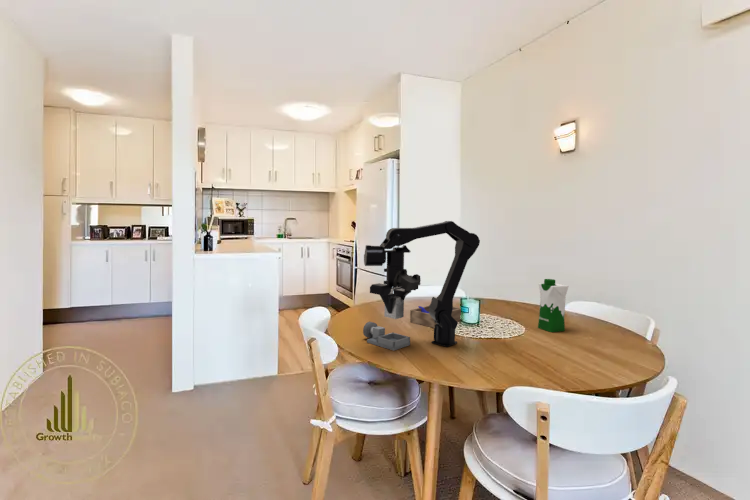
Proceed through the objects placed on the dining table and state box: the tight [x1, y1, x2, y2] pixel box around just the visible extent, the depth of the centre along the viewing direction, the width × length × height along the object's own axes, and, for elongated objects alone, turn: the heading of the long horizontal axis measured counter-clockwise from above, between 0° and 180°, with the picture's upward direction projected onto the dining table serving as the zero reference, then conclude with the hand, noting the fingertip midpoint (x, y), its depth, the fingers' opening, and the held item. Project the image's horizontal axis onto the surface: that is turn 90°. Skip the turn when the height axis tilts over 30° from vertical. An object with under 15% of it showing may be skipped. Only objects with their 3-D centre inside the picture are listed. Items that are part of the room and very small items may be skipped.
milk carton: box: [537, 278, 569, 333], centre depth 159 cm, size 9×9×20 cm
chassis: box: [366, 325, 411, 351], centre depth 137 cm, size 14×8×5 cm, turn 47°
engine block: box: [384, 296, 405, 320], centre depth 134 cm, size 5×4×7 cm
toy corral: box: [409, 305, 462, 329], centre depth 169 cm, size 13×20×5 cm, turn 137°
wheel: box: [362, 321, 379, 339], centre depth 142 cm, size 2×6×6 cm, turn 137°
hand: (394, 312), depth 134 cm, fingers closed on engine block, 4 cm apart
